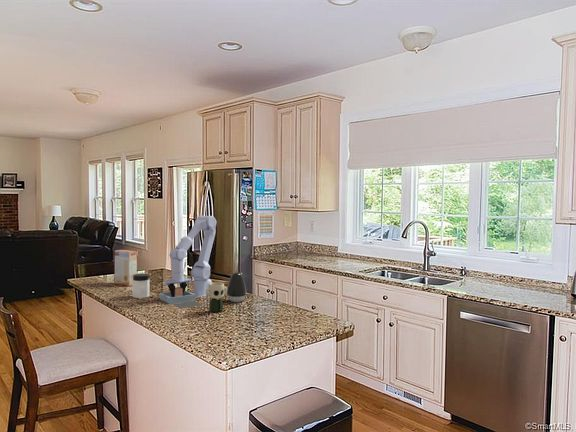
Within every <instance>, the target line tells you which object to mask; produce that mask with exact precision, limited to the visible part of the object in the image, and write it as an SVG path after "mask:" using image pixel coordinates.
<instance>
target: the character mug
mask: <svg viewBox="0 0 576 432" xmlns="http://www.w3.org/2000/svg"><path fill="white" fill-rule="evenodd" d="M227 287H228V286H225V284H224V283H222V282H212V283H210V284H209V289H206V296H205V297H207V296H208V297H209V298H210V302H209V303H210V305H209V311H211V312H213V313H215V312H223V310H224V308H223V307H224V305H223V299H222V298H224V296H225V294H227ZM208 291H209V294H208Z"/></svg>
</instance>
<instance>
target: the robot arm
mask: <svg viewBox="0 0 576 432" xmlns="http://www.w3.org/2000/svg"><path fill="white" fill-rule="evenodd" d="M217 223H218V221H217V220H216V218H215V216H213V215H198V216H197V218H196V219H195V220H194V225H192V227H191V229H190V230H189V232H188V233H187V236H183V237H181V238H180V241H179V243H178V244H177V245H176V246H175V248H172V249H171V251H170V252H169V258H170V260H171V279H167V280H163V281H162V283H163V285H164V286H167V287H168V289H169V292H171V296H172V297H175V288H176V285H177V284H179V287H181V288H183V294H184V291H185V290H186V288H187V287H188V283H192V280H193V294H195V295H196V298H199V297H207V296H206V289H209V284H210V283H213V282H212V279H210V277H211V266H210V264H209V261H210V257H211V252H212V248H213V244H214V241H215V237H216V232H217V231H216V227H217ZM201 230H202V231H203V232H204V236H203V241H202V245H201V248H200V252H199V257H198V261H196V262H195V263H194V265H193V266H192V268H191V271H190V274H191V277H192V278H193V279H192V278H190V277H189V278H184V259H185V258H186V256H187V251H188V250H189V249H190V248H191V246H192V245H193V239H195V237H196V236H198V234H199V232H200V231H201ZM208 294H209V291H208Z"/></svg>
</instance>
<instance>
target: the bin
mask: <svg viewBox="0 0 576 432" xmlns="http://www.w3.org/2000/svg"><path fill="white" fill-rule="evenodd" d="M158 296H159V300H161V301H163V302H165V303H167V304H168V305H173V304H177V303H185V302H192V301H195V302H197V301H196V298H197V297H196V295H195V294H194V292H190V291H188V290H186V289H185V291H184V294H183V296H178V297H172V296H171V292H170V291H163V292H159V295H158Z"/></svg>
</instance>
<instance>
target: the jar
mask: <svg viewBox="0 0 576 432" xmlns="http://www.w3.org/2000/svg"><path fill="white" fill-rule="evenodd" d="M131 287H132V291H131V293H132V294H131V295H132V298H137V299H142V298H148V297H149V296H150V287H151V286H150V274H149V273H137V274H134V275H133V281H132V286H131Z"/></svg>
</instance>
